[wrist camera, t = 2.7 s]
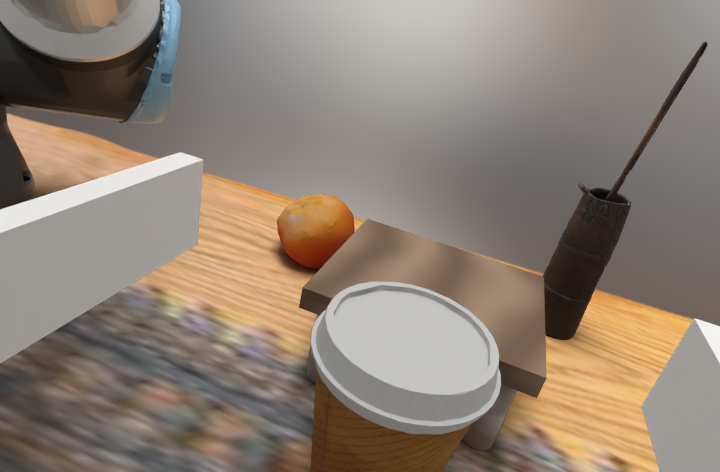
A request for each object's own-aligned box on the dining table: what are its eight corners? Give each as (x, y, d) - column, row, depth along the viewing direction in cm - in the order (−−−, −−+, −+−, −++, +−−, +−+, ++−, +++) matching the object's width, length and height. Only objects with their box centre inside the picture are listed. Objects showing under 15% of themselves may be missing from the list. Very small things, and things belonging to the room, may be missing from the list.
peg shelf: (286, 379, 36) (302, 287, 33) (350, 292, 48) (367, 218, 45) (502, 469, 33) (546, 377, 29) (512, 351, 45) (544, 276, 42)
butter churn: (485, 325, 48) (604, 16, 36) (502, 285, 56) (604, 23, 44) (582, 366, 45) (745, 46, 33) (585, 318, 53) (718, 47, 41)
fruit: (375, 266, 51) (350, 203, 47) (305, 298, 51) (273, 237, 46) (356, 230, 58) (332, 172, 54) (294, 258, 57) (265, 201, 53)
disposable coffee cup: (419, 430, 34) (470, 285, 29) (462, 576, 26) (545, 409, 21) (281, 424, 32) (310, 268, 27) (279, 580, 24) (321, 397, 19)
